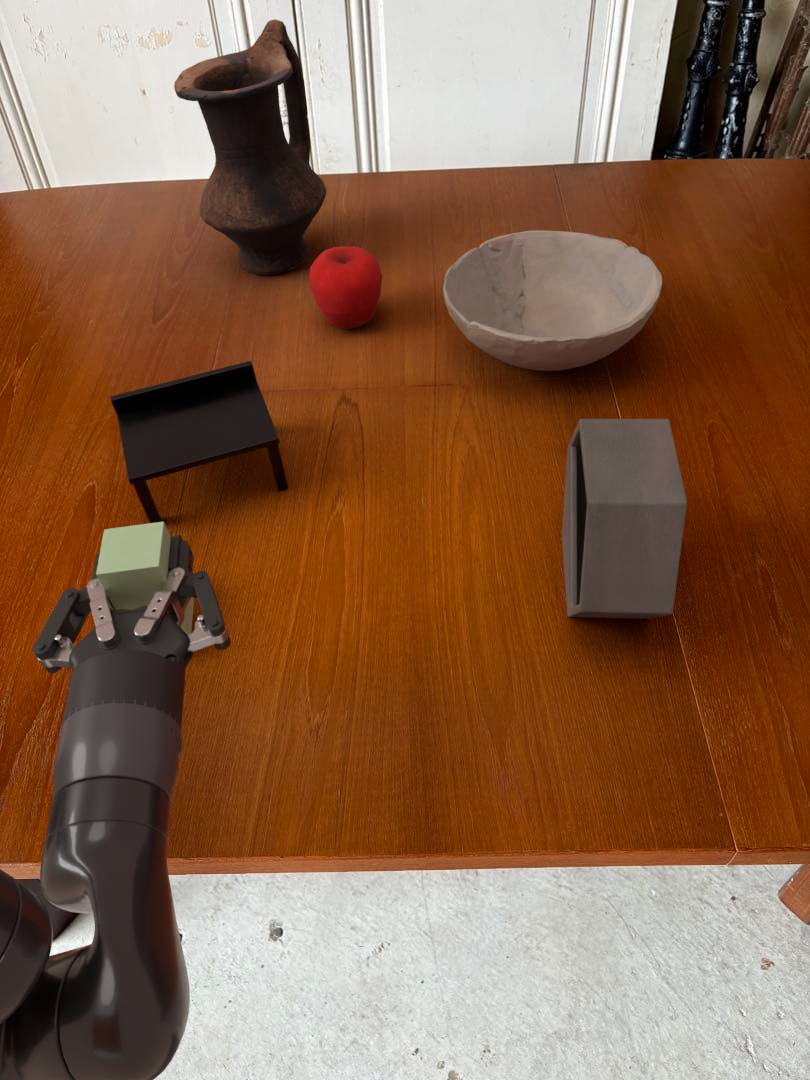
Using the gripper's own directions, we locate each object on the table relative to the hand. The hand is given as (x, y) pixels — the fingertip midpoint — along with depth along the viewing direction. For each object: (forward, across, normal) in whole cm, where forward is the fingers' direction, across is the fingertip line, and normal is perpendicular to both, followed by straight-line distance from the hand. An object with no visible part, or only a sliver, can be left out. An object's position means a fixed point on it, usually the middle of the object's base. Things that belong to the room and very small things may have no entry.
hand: (146, 547), depth 65 cm
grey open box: (+4, -40, +18) cm, 44 cm away
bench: (+26, 0, +17) cm, 31 cm away
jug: (+74, -9, +16) cm, 77 cm away
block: (-3, 0, +6) cm, 7 cm away
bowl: (+43, -44, +17) cm, 64 cm away
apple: (+54, -19, +16) cm, 59 cm away
